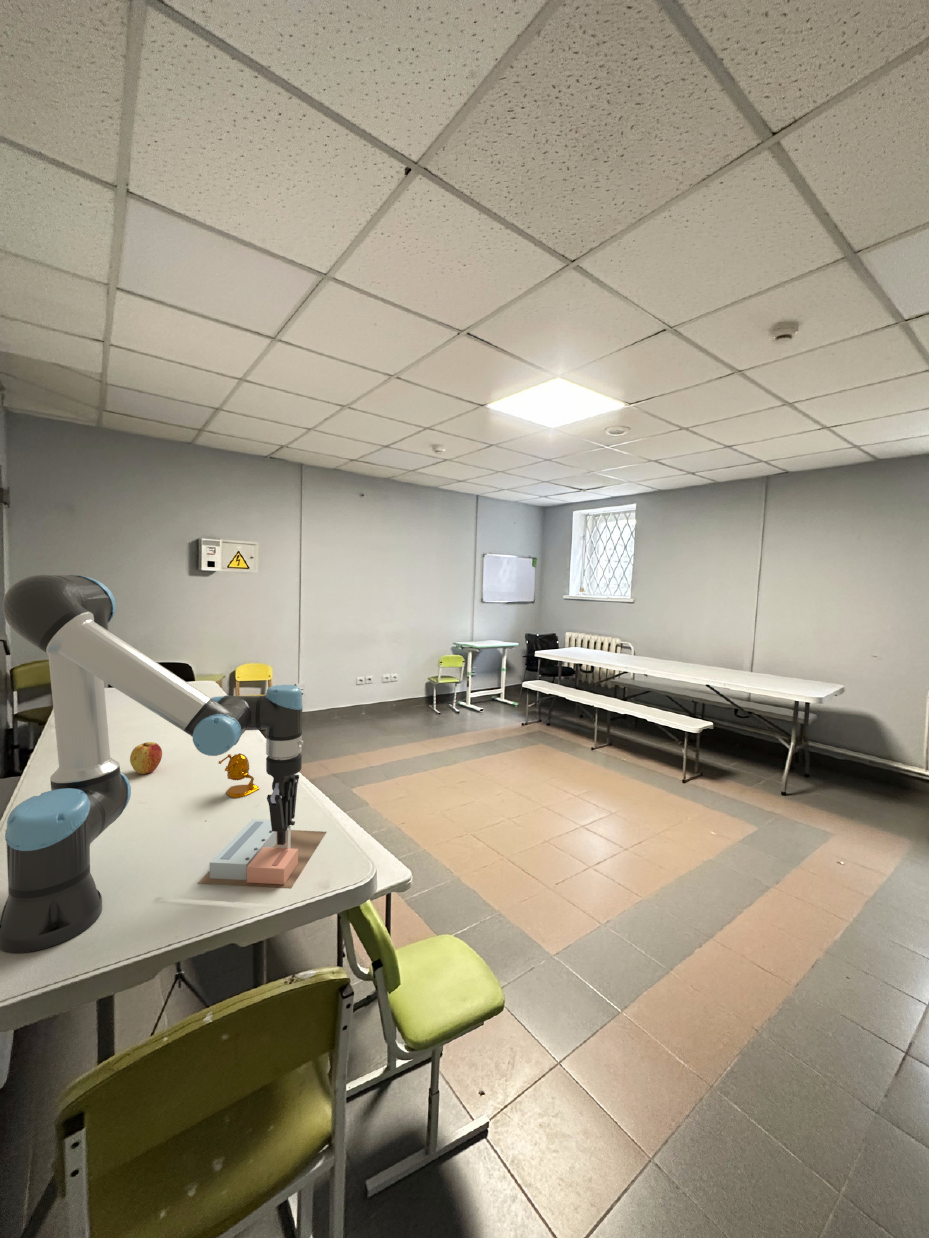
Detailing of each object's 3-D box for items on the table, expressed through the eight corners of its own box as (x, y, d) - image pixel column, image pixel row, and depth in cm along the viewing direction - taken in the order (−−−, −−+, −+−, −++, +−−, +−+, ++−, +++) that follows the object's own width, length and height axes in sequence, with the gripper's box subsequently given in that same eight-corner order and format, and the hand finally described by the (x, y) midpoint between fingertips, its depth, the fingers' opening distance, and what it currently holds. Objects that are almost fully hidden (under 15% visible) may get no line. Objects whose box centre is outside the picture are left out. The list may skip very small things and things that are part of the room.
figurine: (217, 791, 152) (217, 753, 151) (254, 783, 159) (254, 746, 158) (225, 801, 145) (225, 761, 145) (263, 792, 152) (263, 754, 151)
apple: (159, 775, 163) (158, 745, 162) (126, 778, 159) (126, 748, 159) (164, 766, 171) (164, 737, 170) (133, 768, 168) (133, 739, 167)
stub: (284, 884, 105) (284, 868, 105) (246, 882, 105) (246, 866, 105) (298, 863, 113) (298, 848, 113) (263, 861, 113) (263, 846, 113)
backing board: (291, 891, 104) (291, 888, 104) (197, 886, 105) (197, 883, 105) (326, 834, 128) (326, 831, 128) (250, 830, 129) (250, 827, 129)
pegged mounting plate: (246, 879, 106) (246, 863, 106) (209, 878, 107) (209, 861, 106) (283, 833, 126) (283, 819, 126) (252, 832, 127) (252, 818, 126)
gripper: (289, 765, 106) (288, 872, 107) (310, 745, 119) (309, 841, 120) (254, 764, 106) (254, 870, 107) (279, 744, 119) (278, 839, 120)
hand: (283, 855), depth 114 cm, fingers closed
